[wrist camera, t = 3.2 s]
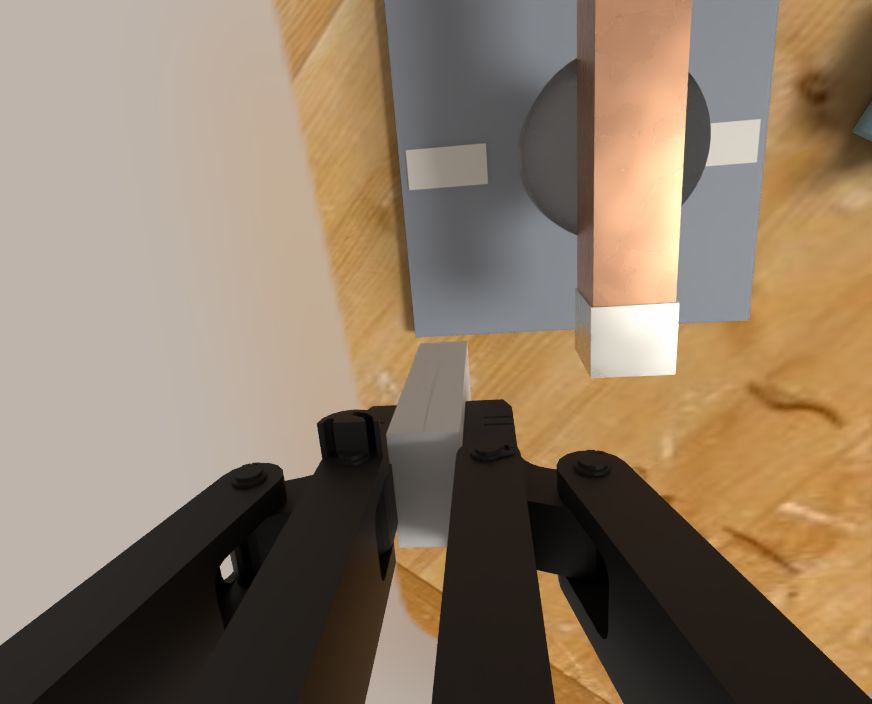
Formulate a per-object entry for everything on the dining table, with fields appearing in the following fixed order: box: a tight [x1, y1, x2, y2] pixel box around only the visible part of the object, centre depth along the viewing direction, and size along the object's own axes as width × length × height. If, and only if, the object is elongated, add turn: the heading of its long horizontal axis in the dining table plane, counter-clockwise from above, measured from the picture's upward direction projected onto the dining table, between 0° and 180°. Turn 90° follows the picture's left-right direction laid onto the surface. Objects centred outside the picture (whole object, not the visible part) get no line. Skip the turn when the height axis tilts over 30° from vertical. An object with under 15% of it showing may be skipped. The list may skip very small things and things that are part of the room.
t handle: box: [518, 0, 711, 378], centre depth 23 cm, size 18×8×7 cm, turn 4°
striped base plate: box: [384, 0, 779, 337], centre depth 31 cm, size 22×22×8 cm
